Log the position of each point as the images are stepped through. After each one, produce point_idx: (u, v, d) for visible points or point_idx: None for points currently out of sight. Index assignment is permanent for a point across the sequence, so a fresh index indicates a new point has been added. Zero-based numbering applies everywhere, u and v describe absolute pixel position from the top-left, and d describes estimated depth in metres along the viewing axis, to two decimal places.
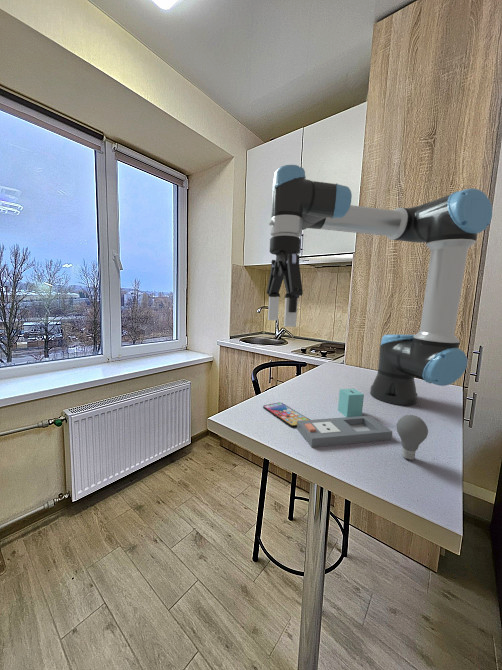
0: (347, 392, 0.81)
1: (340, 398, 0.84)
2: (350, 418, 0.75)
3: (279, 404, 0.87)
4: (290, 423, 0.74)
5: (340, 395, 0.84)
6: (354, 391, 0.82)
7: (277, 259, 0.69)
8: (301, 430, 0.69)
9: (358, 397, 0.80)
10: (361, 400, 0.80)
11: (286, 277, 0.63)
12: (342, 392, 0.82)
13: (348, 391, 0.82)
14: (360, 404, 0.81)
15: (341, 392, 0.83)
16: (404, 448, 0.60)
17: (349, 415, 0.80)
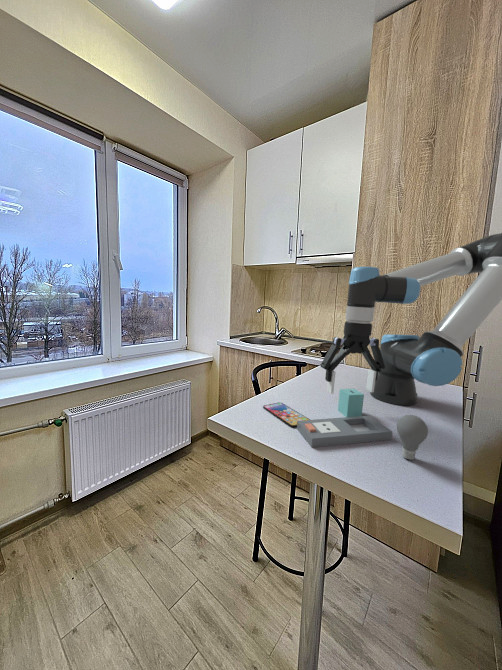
0: (347, 392, 0.81)
1: (340, 398, 0.84)
2: (350, 418, 0.75)
3: (279, 404, 0.87)
4: (290, 423, 0.74)
5: (340, 395, 0.84)
6: (354, 391, 0.82)
7: None
8: (301, 430, 0.69)
9: (358, 397, 0.80)
10: (361, 400, 0.80)
11: (337, 354, 0.80)
12: (342, 392, 0.82)
13: (348, 391, 0.82)
14: (360, 404, 0.81)
15: (341, 392, 0.83)
16: (404, 448, 0.60)
17: (349, 415, 0.80)
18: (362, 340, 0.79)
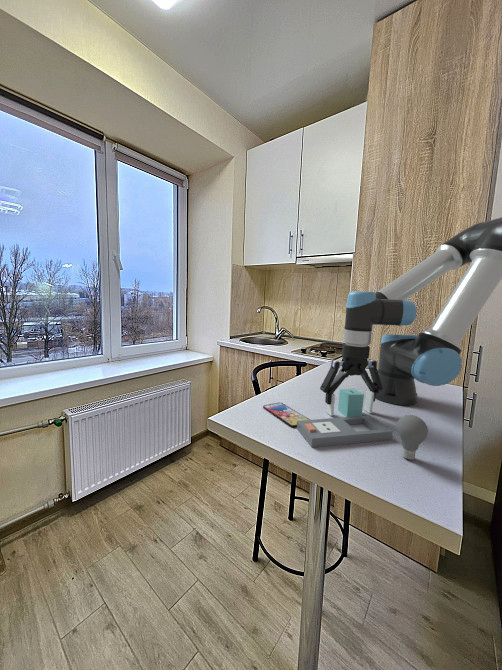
0: (347, 392, 0.81)
1: (340, 398, 0.84)
2: (350, 418, 0.75)
3: (279, 404, 0.87)
4: (290, 423, 0.74)
5: (340, 395, 0.84)
6: (354, 391, 0.82)
7: None
8: (301, 430, 0.69)
9: (358, 397, 0.80)
10: (361, 400, 0.80)
11: (336, 376, 0.81)
12: (342, 392, 0.82)
13: (348, 391, 0.82)
14: (360, 404, 0.81)
15: (341, 392, 0.83)
16: (404, 448, 0.60)
17: (349, 415, 0.80)
18: (360, 362, 0.80)
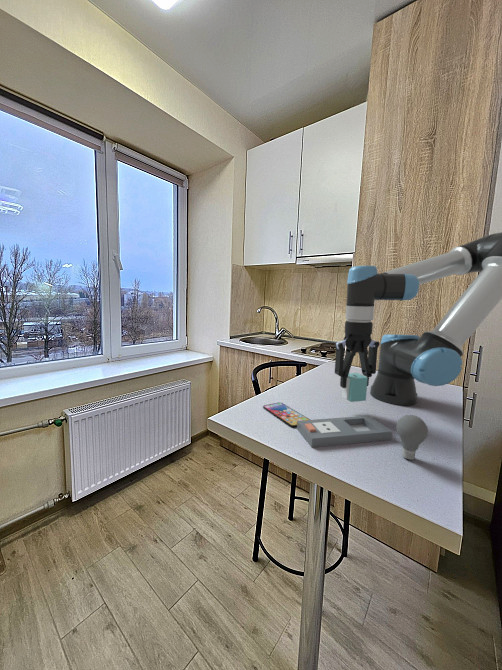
0: (350, 376, 0.81)
1: None
2: (350, 418, 0.75)
3: (279, 404, 0.87)
4: (290, 423, 0.74)
5: None
6: (357, 375, 0.82)
7: None
8: (301, 430, 0.69)
9: (362, 381, 0.79)
10: (365, 384, 0.80)
11: (345, 358, 0.81)
12: None
13: (351, 375, 0.82)
14: (364, 388, 0.80)
15: None
16: (404, 448, 0.60)
17: (353, 399, 0.80)
18: (365, 336, 0.79)
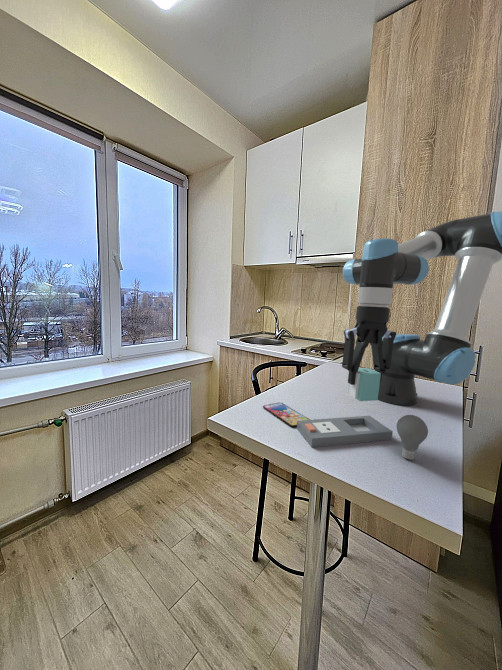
0: (360, 371, 0.68)
1: None
2: (350, 418, 0.75)
3: (279, 404, 0.87)
4: (290, 423, 0.74)
5: None
6: (369, 370, 0.69)
7: None
8: (301, 430, 0.69)
9: (374, 377, 0.67)
10: (377, 380, 0.67)
11: (355, 349, 0.68)
12: None
13: (361, 370, 0.69)
14: (376, 385, 0.68)
15: None
16: (404, 448, 0.60)
17: (363, 398, 0.67)
18: (380, 324, 0.67)
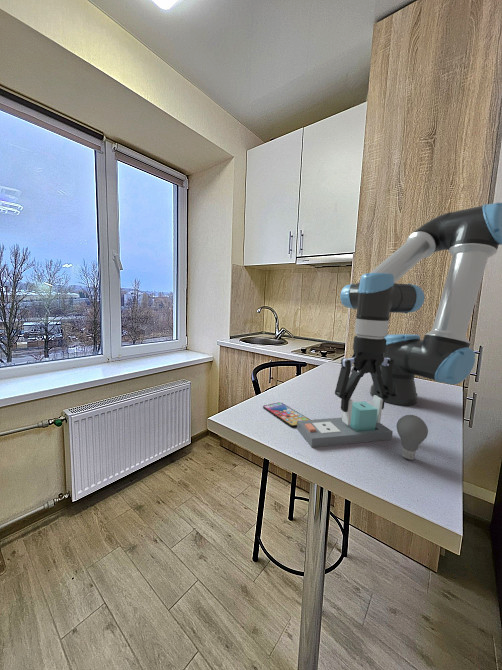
0: (357, 406, 0.70)
1: None
2: None
3: (279, 404, 0.87)
4: (290, 423, 0.74)
5: None
6: (365, 405, 0.71)
7: None
8: (301, 430, 0.69)
9: (371, 413, 0.69)
10: (374, 416, 0.69)
11: (350, 377, 0.69)
12: (352, 406, 0.71)
13: (359, 405, 0.71)
14: (373, 420, 0.69)
15: None
16: (404, 448, 0.60)
17: None
18: (376, 356, 0.68)
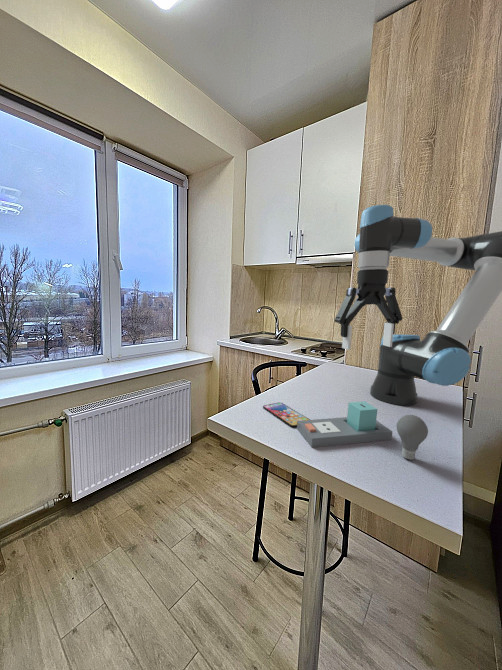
0: (357, 406, 0.70)
1: (349, 413, 0.72)
2: None
3: (279, 404, 0.87)
4: (290, 423, 0.74)
5: (349, 410, 0.72)
6: (365, 405, 0.71)
7: None
8: (301, 430, 0.69)
9: (371, 413, 0.69)
10: (374, 416, 0.69)
11: (352, 306, 0.73)
12: (352, 406, 0.71)
13: (359, 405, 0.71)
14: (373, 420, 0.69)
15: (350, 406, 0.72)
16: (404, 448, 0.60)
17: None
18: (378, 289, 0.72)
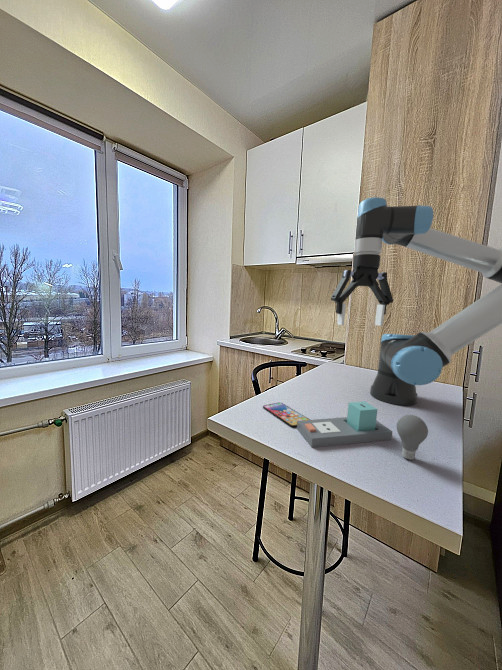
0: (357, 406, 0.70)
1: (349, 413, 0.72)
2: None
3: (279, 404, 0.87)
4: (290, 423, 0.74)
5: (349, 410, 0.72)
6: (365, 405, 0.71)
7: None
8: (301, 430, 0.69)
9: (371, 413, 0.69)
10: (374, 416, 0.69)
11: (347, 287, 0.83)
12: (352, 406, 0.71)
13: (359, 405, 0.71)
14: (373, 420, 0.69)
15: (350, 406, 0.72)
16: (404, 448, 0.60)
17: None
18: (371, 273, 0.82)
